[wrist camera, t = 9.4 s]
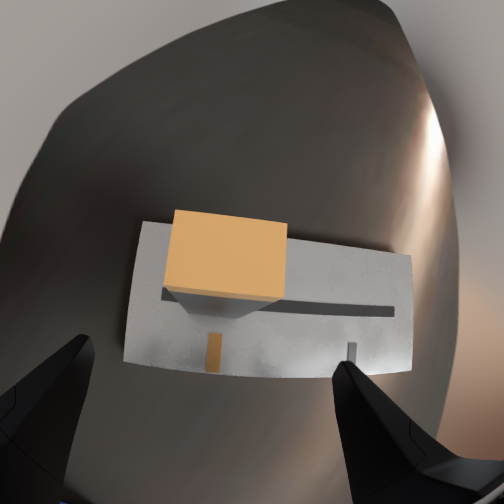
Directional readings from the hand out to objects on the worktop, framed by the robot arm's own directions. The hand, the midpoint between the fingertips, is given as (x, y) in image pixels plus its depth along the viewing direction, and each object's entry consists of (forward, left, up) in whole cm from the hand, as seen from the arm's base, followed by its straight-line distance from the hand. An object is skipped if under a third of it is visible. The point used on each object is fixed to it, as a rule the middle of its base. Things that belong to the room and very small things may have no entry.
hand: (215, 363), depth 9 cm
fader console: (+4, -4, -9) cm, 11 cm away
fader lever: (+3, +1, -7) cm, 8 cm away
